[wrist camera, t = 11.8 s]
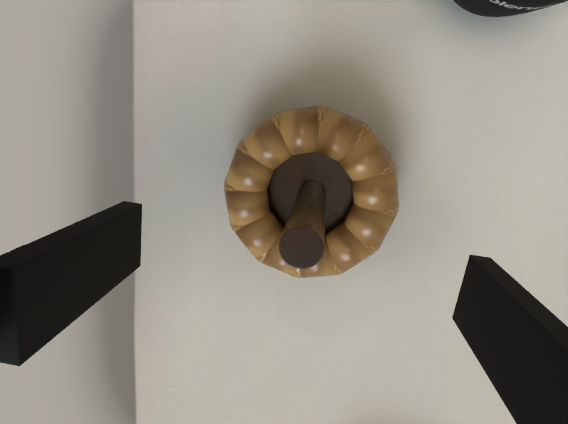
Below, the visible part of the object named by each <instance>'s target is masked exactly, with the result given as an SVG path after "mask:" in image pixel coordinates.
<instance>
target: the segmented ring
mask: <svg viewBox="0 0 568 424" xmlns="http://www.w3.org/2000/svg"><path fill="white" fill-rule="evenodd" d="M314 152H317V153H319V154H322V155H324V156H326V157H329V158H331V159H333V160H336V161H338V162H339V163H340V165H341V166H342V168H343V169H344V170H345V172H346V173H347V174H348V176H349V177H350V178H351V180H352V189H353V200H354V203H353V205H352V207H351V209H350V211H349V213H348V215H347V217H346V219H345V221H344V222H343V223H342V224H340V225H339V226H338V227H336V228H335V229H333V230H332V231H330V232H329V233H327V234H325V235H324V253H323V256H322V258H321V260H320V261H319V262H318V263H317V264H316V265H314V266H313V267H310V268H307V269H297V268H294V267H291V266H290V265H288V264H287V263H286V262H285V261H284V260H283V259H282V257H281V255H280V253H279V241H280V239H281V236H282V233H283V231H284V228H283V227H282V225H281V224H280V223H279V221H278V220H277V219H276V218H275V216H274V215H273V214H272V212H271V211H270V208H269V201H268V194H267V187H268V185H269V182H270V180H271V177H272V175H273V172H274V170H275V168H277V167H278V166H279V165H281V164H282V163H283V162H285V161H286V160H287V159H289V158H290V157H291V156H292V155H298V154H306V153H314ZM224 191H225V197H226V203H227V209H228V214H229V220H230V225H231V227H232V229H233V231H234V232H235V233H236V235H237V236H238V237H239V238H240V240H241V241H242V242H243V243H244V245H245V246H246V247H247V248H248V250H249V251H250V252H251V253H252V255H253V256H254V257H255V258H256V259H257V260H258V261H259V262H261V263H263V264H266V265H268V266H270V267H273V268H275V269H277V270H280V271H282V272H284V273H287V274H289V275H291V276H294V277H298V278H305V277H318V276H331V275H339V274H342V273H344V272H346V271H347V270H349V269H350V268H352V267H354V266H355V265H357V264H358V263H360V262H361V261H363V260H364V259H366V258H367V257H369V256H371V255H372V254H374V253H375V252H376V251H377V250H378V249H379V247H380V246H381V244H382V242H383V240H384V238H385V236H386V234H387V232H388V230H389V229H390V227H391V225H392V223H393V221H394V219H395V217H396V215H397V212H398V208H399V204H398V188H397V172H396V165H395V163H394V161H393V159H392V157H391V156H390V155H389V153H388V152H387V150H386V149H385V148H384V146H383V145H382V143H381V142H380V141H379V139H378V138H377V136H376V135H375V133H374V132H373V131H372V129H371V128H370V127H369V126H368V125H367V124H365V123H363V122H361V121H359V120H357V119H354V118H352V117H350V116H347V115H345V114H343V113H340V112H338V111H335V110H333V109H331V108H328V107H325V106H315V107H308V108H301V109H294V110H287V111H280V112H277V113H275V114H273V115H271V116H270V117H269V118H268V119H266V120H265V121H264V122H263V123H261V124H260V125H259V126H258V127H256V128H255V129H254V130H253V131H252V132H250V133H249V134H248V135H247V136H245V137H244V138H243V139H242V140H241V141H240V142H239V144H238V146H237V148H236V151H235V154H234V156H233V159H232V162H231V165H230V167H229V170H228V173H227V175H226V178H225V181H224Z"/></svg>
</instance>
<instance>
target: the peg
mask: <svg viewBox="0 0 568 424" xmlns="http://www.w3.org/2000/svg"><path fill="white" fill-rule="evenodd" d="M267 194H268V201H269V208H270V211H271V212H272V214H273V215H274V216H275V218H276V219H277V220H278V221H279V223H280V224H281V225H282V227H283V228H284V231H283V233H282V236H281V239H280V241H279V253H280V255H281V257H282V259H283V260H284V261H285V262H286V263H287V264H288V265H290V266H291V267H294V268H297V269H307V268H310V267H313V266H314V265H316V264H317V263H318V262H319V261H320V260H321V258H322V256H323V253H324V235H325V234H327V233H329V232H330V231H332V230H333V229H335V228H336V227H338V226H339V225H340V224H342V223H343V222H344V221H345V219H346V217H347V215H348V213H349V211H350V209H351V207H352V205H353V203H354V200H353V189H352V180H351V178H350V177H349V176H348V174H347V173H346V172H345V170H344V169H343V168H342V166H341V165H340V163H339V162H338V161H336V160H333V159H331V158H329V157H326V156H324V155H322V154H319V153H317V152H314V153H306V154H298V155H292V156H291V157H290V158H289V159H287V160H286V161H285V162H283V163H282V164H281V165H279V166H278V167H277V168H275V170H274V172H273V175H272V177H271V180H270V182H269V185H268V187H267Z"/></svg>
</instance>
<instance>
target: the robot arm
mask: <svg viewBox="0 0 568 424" xmlns="http://www.w3.org/2000/svg"><path fill="white" fill-rule="evenodd" d="M141 221H142V204H139V203H132V202H126V201H123V202H121V203H119V204H117V205H115V206H112V207H110V208H108V209H105V210H103V211H101V212H99V213H96V214H94V215H92V216H90V217H88V218H85V219H83V220H81V221H79V222H76V223H74V224H72V225H70V226H67V227H65V228H63V229H60V230H58V231H56V232H54V233H51V234H49V235H47V236H45V237H42V238H40V239H38V240H36V241H33V242H31V243H29V244H26V245H23V246H21V247H18V248H16V249H14V250H12V251H10V252H7V253H5V254H2V255H0V362H1V363H6V364H11V365H17V366H20V365H21V364H23V363H24V362H25V361H26V360H28V359H29V358H30V357H31V356H32V355H34V354H35V353H36V352H37V351H38V350H40V349H41V348H42V347H43V346H44V345H46V344H47V343H48V342H49V341H50V340H52V339H53V338H54V337H55V336H56V335H57V334H59V333H60V332H61V331H62V330H64V329H65V328H66V327H67V326H68V325H70V324H71V323H72V322H73V321H74V320H75V319H77V318H78V317H79V316H80V315H82V314H83V313H84V312H85V311H87V310H88V309H89V308H90V307H91V306H92V305H94V304H95V303H96V302H97V301H99V300H100V299H101V298H102V297H103V296H105V295H106V294H107V293H108V292H109V291H111V290H112V289H113V288H114V287H115V286H117V285H118V284H119V283H120V282H121V281H123V280H124V279H125V278H126V277H127V276H129V275H130V274H131V273H132V272H134V271H135V270H136V269H137V268H138V267H140V259H141ZM452 318H453V320H454V321H455V323H456V325H457V326H458V328H459V330H460V331H461V333H462V335H463V336H464V338H465V340H466V341H467V343H468V344H469V346H470V348H471V349H472V351H473V353H474V354H475V356H476V358H477V359H478V361H479V362H480V364H481V366H482V367H483V369H484V371H485V372H486V374H487V376H488V377H489V379H490V381H491V382H492V384H493V385H494V387H495V389H496V390H497V392H498V394H499V395H500V397H501V399H502V400H503V402H504V404H505V405H506V407H507V408H508V410H509V412H510V413H511V415H512V417H513V418H514V420H515V422H516V423H517V424H568V327H567V326H566V325H565V324H564V323H563V322H562V321H560V320H559V319H558V318H557V317H556V316H555V315H554V314H553V313H551V312H550V311H549V310H548V309H547V308H546V307H545V306H544V305H543V304H541V303H540V302H539V301H538V300H537V299H536V298H535V297H534V296H532V295H531V294H530V293H529V292H528V291H527V290H526V289H525V288H524V287H522V286H521V285H520V284H519V283H518V282H517V281H516V280H515V279H513V278H512V277H511V276H510V275H509V274H508V273H507V272H506V271H504V270H503V269H502V268H501V267H500V266H499V265H498V264H497V263H496V262H494V261H493V260H492V259H491V258H488V257H481V256H475V255H470V256H469V260H468V264H467V267H466V271H465V274H464V278H463V282H462V285H461V289H460V292H459V296H458V300H457V303H456V307H455V310H454V314H453V317H452Z"/></svg>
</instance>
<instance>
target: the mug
mask: <svg viewBox="0 0 568 424" xmlns="http://www.w3.org/2000/svg"><path fill="white" fill-rule="evenodd" d="M454 1H455V2H456V3H457V4H458V5H459V6H460V7H462V8H463V9H465V10H467V11H469V12H471V13H474V14H477V15H481V16H489V17H501V16H511V15H517V14H523V13H527V12H532V11H535V10H539V9H543V8H546V7H550V6H553V5H556V4H559V3H562V2H565V1H568V0H454Z"/></svg>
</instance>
